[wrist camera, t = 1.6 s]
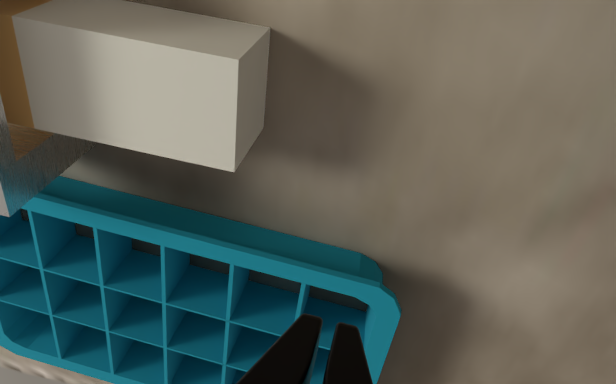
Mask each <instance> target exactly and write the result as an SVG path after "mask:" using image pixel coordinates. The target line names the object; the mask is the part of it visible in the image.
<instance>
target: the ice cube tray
mask: <svg viewBox="0 0 616 384" xmlns="http://www.w3.org/2000/svg"><path fill="white" fill-rule="evenodd" d="M21 209H25V210H27V211H28V216H29V221H30V222H29V221H25V220H22V216H21V212H20V209H19V210H18V211H16V212H15V213H14V214H13V215H12V216H10V217H7V216H3V215H0V346H2V347H4V348H6V349H8V350H9V351H11V352H13V353H15V354H17V355H20V356H23V357H27V358H30V359H33V360H37V361H40V362H44V363H47V364H50V365H54V366H57V367H60V368H64V369H67V370H70V371H74V372H77V373H80V374H84V375H87V376H91V377H94V378H97V379H101V380H104V381H107V382H111V383H114V384H236V383H237V382H238V381H239V380H240V379H241V378H242V377H243V376H244V374H245V373H246V372H247V371H248V370H249V369H250V368H251V367H252V366H253V365H254V364H255V363H256V362H257V361H258V360H259V359H260V358H261V357H262V355H263V354H264V353H265V352H266V351H267V350H268V349H269V348H270V347H271V346H272V345H273V344H274V343H275V342H276V341H277V340H278V339H279V337H280V336H281V335H282V334H283V333H284V332H285V331H286V330H287V329H288V328H289V327H290V326H291V325H292V324H293V323H294V322H295V321H296V319H297V318H298V317H299V316H300V315H302V314H304V313H305V314H310V315H314V316H318V317H321V318H322V320H323V325H322V330H321V335H320V341H319V346H318V351H317V355H316V360H315V364H314V368H313V372H312V376H311V380H310V384H322V383H323V378H324V373H325V369H326V364H327V360H328V356H329V352H330V348H331V344H332V340H333V335H334V331H335V327H336V324H337V323H339V322H342V323H346V324H350V325H354V326H356V327H358V329H359V332H360V336H361V340H362V344H363V347H364V351H365V355H366V359H367V363H368V367H369V371H370V374H371V378H372V382H373V384H377V381H378V379H379V376H380V373H381V370H382V367H383V364H384V362H385V359H386V356H387V353H388V350H389V347H390V345H391V342H392V339H393V336H394V333H395V330H396V328H397V325H398V322H399V319H400V316H401V308H400V305H399V303H398V300H397V298H396V295H395V293H393V292H392V291H391V290H389V289H388V288H387V287H385V286H384V285H383V284H382V282H383V273H382V272H381V270H380V268H379V267H378V265H377V264H376V262H375V261H373V260H372V259H370V258H368V257H367V256H365V255H363V254H361V253H358V252H354V251H350V250H347V249H343V248H339V247H335V246H331V245H327V244H323V243H319V242H315V241H311V240H308V239H304V238H300V237H296V236H292V235H288V234H284V233H280V232H276V231H272V230H269V229H265V228H261V227H257V226H253V225H249V224H245V223H241V222H237V221H233V220H230V219H226V218H222V217H218V216H214V215H210V214H206V213H202V212H198V211H194V210H190V209H187V208H183V207H179V206H175V205H171V204H167V203H163V202H159V201H155V200H151V199H148V198H144V197H140V196H136V195H132V194H128V193H124V192H120V191H116V190H112V189H108V188H105V187H101V186H97V185H93V184H89V183H85V182H81V181H77V180H73V179H69V178H66V177H62V176H58V177H57V178H56V179H54V180H53V181H52V182H51V183H50V184H48V185H47V186H46V187H45V188H44V189H42V190H41V191H40V192H39V193H38V194H37V195H35V196H34V197H33V198H32V199H31V200H29V201H28V202H27V203H26V204H25V205H24V206H22V207H21ZM75 223H78V224H82V225H85V226H89V227H93V233H94V239H93V238H89V237H85V236H81V235H78V234H76V229H75ZM132 238H134V239H138V240H142V241H145V242H149V243H153V244H157V245H160V249H161V257H160V256H156V255H152V254H149V253H145V252H141V251H137V250H134V249H132ZM190 253H191V254H194V255H198V256H202V257H206V258H209V259H213V260H217V261H221V262H224V263H228V264H230V269H229V275H227V274H223V273H220V272H216V271H212V270H208V269H205V268H201V267H197V266H193V265H190ZM250 269H251V270H255V271H258V272H262V273H266V274H270V275H273V276H277V277H281V278H285V279H288V280H292V281H296V282H300V283H301V288H300V294H298V293H294V292H291V291H287V290H283V289H279V288H276V287H272V286H268V285H264V284H261V283H257V282H253V281H249V280H248V279H249V270H250ZM311 286H315V287H319V288H322V289H326V290H330V291H334V292H337V293H341V294H345V295H349V296H352V297H356V298H357V299H359V300H361V301H363V302H364V303H366V304H368V306H367V310H366V312H365V311H362V310H358V309H354V308H350V307H347V306H343V305H339V304H335V303H332V302H328V301H324V300H320V299H317V298H313V297H309V292H310V287H311Z"/></svg>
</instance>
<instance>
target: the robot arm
mask: <svg viewBox="0 0 616 384" xmlns="http://www.w3.org/2000/svg"><path fill="white" fill-rule="evenodd" d="M322 325H323V320H322V318H321V317H318V316H314V315H310V314H305V313H304V314H302V315H300V316H299V317H298V318H297V319H296V321H295V322H294V323H293V324H292V325H291V326H290V327H289V328H288V329H287V330H286V331H285V332H284V333H283V334H282V335H281V336H280V337H279V339H278V340H277V341H276V342H275V343H274V344H273V345H272V346H271V347H270V348H269V349H268V350H267V351H266V352H265V353H264V354H263V355H262V357H261V358H260V359H259V360H258V361H257V362H256V363H255V364H254V365H253V366H252V367H251V368H250V369H249V370H248V371H247V372H246V373H245V374H244V376H243V377H242V378H241V379H240V380H239V381H238V382H237V383H236V384H310V380H311V376H312V372H313V368H314V364H315V360H316V355H317V351H318V346H319V341H320V335H321V330H322ZM322 384H373V382H372V378H371V374H370V371H369V367H368V363H367V359H366V355H365V351H364V347H363V344H362V340H361V336H360V332H359V329H358V327H356V326H354V325H350V324H346V323H342V322H339V323H337V324H336V327H335V331H334V335H333V340H332V344H331V348H330V352H329V356H328V360H327V364H326V369H325V373H324V378H323V383H322Z"/></svg>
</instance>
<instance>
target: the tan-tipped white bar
mask: <svg viewBox="0 0 616 384" xmlns="http://www.w3.org/2000/svg"><path fill="white" fill-rule="evenodd" d="M270 30H271V27H266V26H260V25H255V24H249V23H244V22H238V21H233V20H228V19H222V18H217V17H211V16H206V15H200V14H195V13H190V12H184V11H179V10H173V9H168V8H162V7H157V6H152V5H146V4H141V3H135V2H130V1H124V0H0V94H1V99H2V103H3V107H4V111H5V115H6V120H7V123H12V124H16V125H21V126H25V127H30V128H34V129H39V130H44V131H48V132H53V133H57V134H62V135H66V136H71V137H75V138H80V139H85V140H89V141H94V142H98V143H103V144H107V145H112V146H116V147H121V148H126V149H130V150H135V151H139V152H144V153H148V154H153V155H157V156H162V157H166V158H171V159H176V160H180V161H185V162H189V163H194V164H198V165H203V166H207V167H212V168H217V169H221V170H226V171H230V172H235V171H236V169H237V168H238V166H239V165H240V163H241V162H242V160H243V159H244V157H245V156H246V154H247V152H248V151H249V149H250V148H251V146H252V145H253V143H254V142H255V140H256V139H257V137H258V136H259V134H260V133H261V131H262V130H263V128H264V115H265V100H266V86H267V72H268V58H269V44H270Z"/></svg>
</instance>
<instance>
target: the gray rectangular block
mask: <svg viewBox="0 0 616 384" xmlns="http://www.w3.org/2000/svg"><path fill="white" fill-rule="evenodd" d="M93 146H95V142H94V141H89V140H85V139H80V138H75V137H71V136H66V135H62V134H57V133H53V132H48V131H44V130H39V129H34V128H30V127H25V126H21V125H16V124H12V123H7V120H6V115H5V111H4V107H3V103H2V99H1V94H0V215H3V216H7V217H10V216H12V215H13V214H14V213H15V212H16V211H18V210H19V209H20V208H21V207H22V206H24V205H25V204H26V203H27V202H28V201H29V200H31V199H32V198H33V197H34V196H35V195H37V194H38V193H39V192H40V191H41V190H42V189H44V188H45V187H46V186H47V185H48V184H50V183H51V182H52V181H53V180H54V179H56V178H57V177H58V176H59V175H60V174H61V173H63V172H64V171H65V170H66V169H67V168H69V167H70V166H71V165H72V164H73V163H74V162H76V161H77V160H78V159H79V158H80V157H82V156H83V155H84V154H85V153H86V152H88V151H89V150H90V149H91V148H92V147H93Z"/></svg>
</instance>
